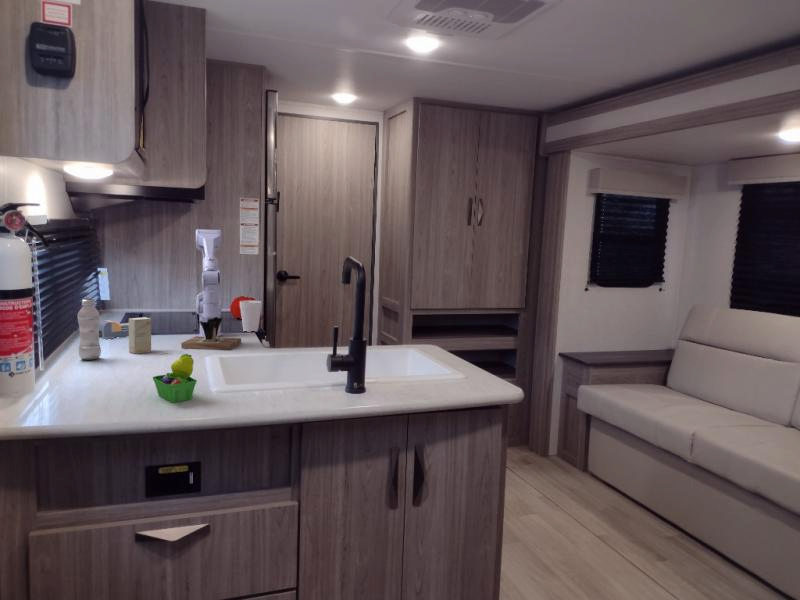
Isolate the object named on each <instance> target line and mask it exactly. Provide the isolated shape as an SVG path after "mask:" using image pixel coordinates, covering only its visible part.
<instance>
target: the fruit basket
mask: <svg viewBox="0 0 800 600" xmlns="http://www.w3.org/2000/svg"><path fill="white" fill-rule="evenodd" d="M192 357H193V355H191V354H189V353H183V354H181V356H180V357H179V358H178V359H176V360H175V361H174V362H173V363H171V365H170V368H171V372H167V373H166V374H162V375H156V376H152V379H153V382H154V384H155V388H156V392H157V394H158V396H159V397H161V398H163V399H164V400H166V401H169V402H170V403H179V402H183V401H184V402H185V401H188V400H192V397H193V394H194V391H195V387H196V384H197V380H196V379H195V378H193V377H191V375H192V374H193V371H194V359H193V358H192Z"/></svg>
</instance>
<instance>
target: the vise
mask: <svg viewBox="0 0 800 600" xmlns="http://www.w3.org/2000/svg"><path fill="white" fill-rule="evenodd" d="M98 336H99V339H100V337H102V338H101V339H102V340H104V339H105V340H107V341H109V340H108V339H111V340H115V339H118V338H117V337H122V338H126V337H125V336H129V322H126V323H125V322H124V323H119V321H113V320H110V319H104V320H99V327H98ZM114 338H115V339H114ZM105 340H104V341H105Z"/></svg>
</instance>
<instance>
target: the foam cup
mask: <svg viewBox="0 0 800 600" xmlns="http://www.w3.org/2000/svg"><path fill="white" fill-rule="evenodd" d="M262 305H263V304H262V301H261V300H256V301H240V309H241V317H242V320H241V323H242V324H241V325H242V330H243V332H244V331H247V332H246V333H252V332H251V331H255V332H254V333H256V332H258V331H259V325H260V318H261V310H262V308H263V307H262Z"/></svg>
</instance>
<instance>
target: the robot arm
mask: <svg viewBox="0 0 800 600" xmlns="http://www.w3.org/2000/svg"><path fill="white" fill-rule="evenodd" d="M222 234H223V233H222V230H221V229H199V228H197V229H195V244H196V245H195V248H196V250H198V251H200V252H201V254H202V260H201V261H202V262H201V263H202V273H201V285H202V291H201V292H199V294H197V295H196V300H195V308H196V309H195V310H196V311H195V312H196V314H197V315H199V334H198V335H197V336H201V337H206V339H210V340H211V339H212V337H213V330H214V328H216V337H219V336H220V337H221V336H222V335H223V334H224V333H223V332H221V323H222V321H223V318H222V317H221V314H222V296H221V295H220V287H221V280H222V279H221V271H220V269H219V259H218V258H217V257H216V256H215V255H216V252H218V251H220V250H221V246H222V242H223V241H222V237H223V235H222Z"/></svg>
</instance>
